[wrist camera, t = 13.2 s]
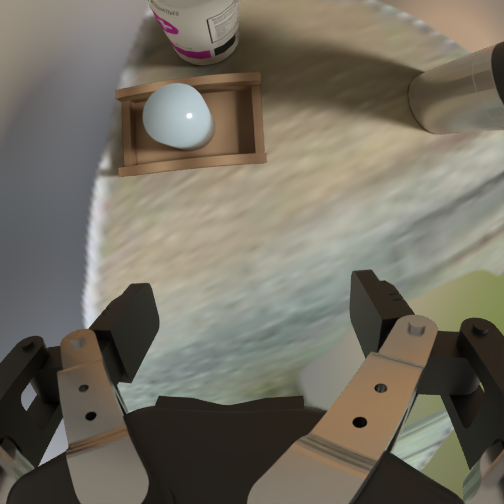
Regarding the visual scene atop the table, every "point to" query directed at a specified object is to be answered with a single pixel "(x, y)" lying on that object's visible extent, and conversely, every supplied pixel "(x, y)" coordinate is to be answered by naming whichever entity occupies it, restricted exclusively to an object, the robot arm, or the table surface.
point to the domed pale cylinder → (179, 117)
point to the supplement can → (199, 28)
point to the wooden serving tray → (225, 116)
